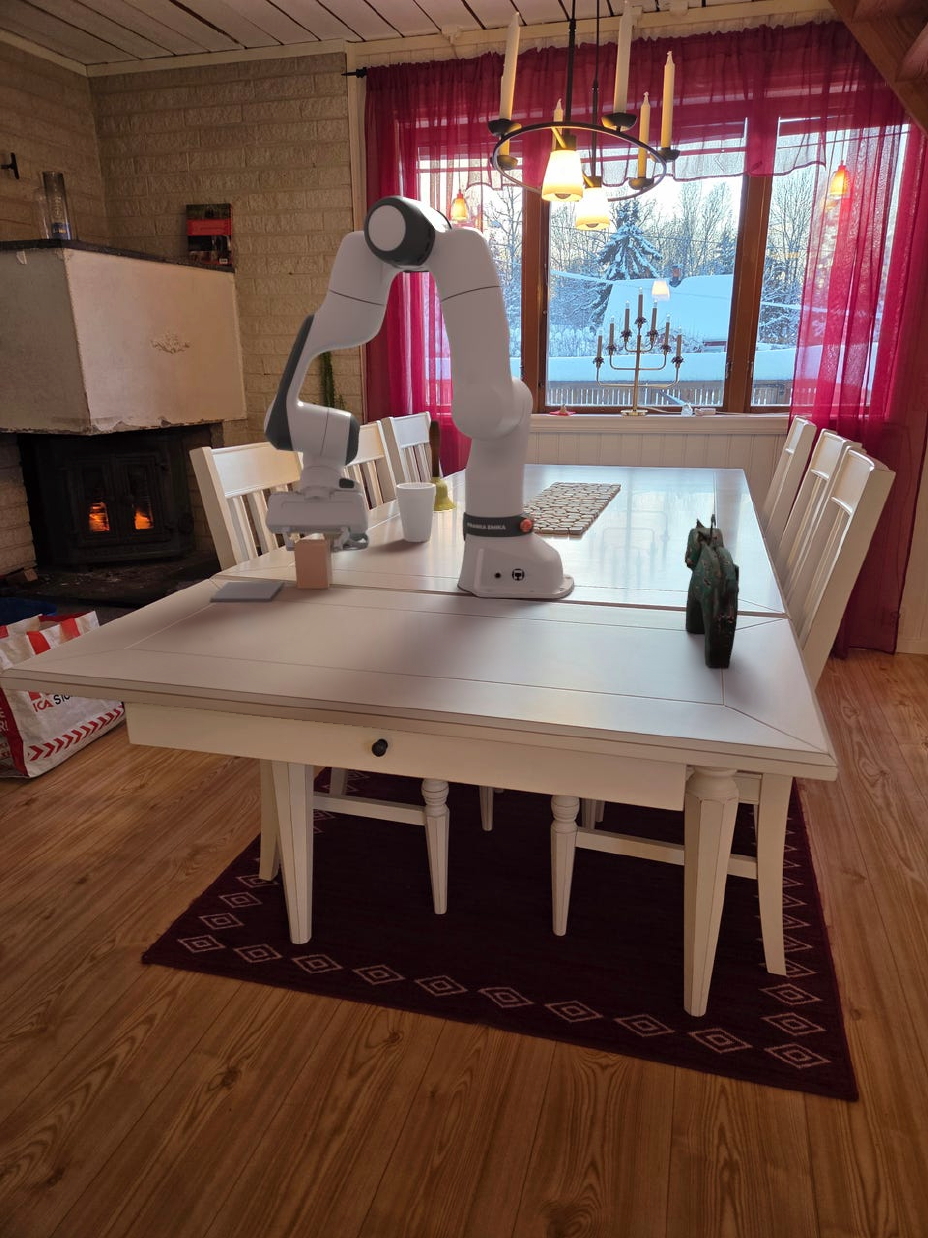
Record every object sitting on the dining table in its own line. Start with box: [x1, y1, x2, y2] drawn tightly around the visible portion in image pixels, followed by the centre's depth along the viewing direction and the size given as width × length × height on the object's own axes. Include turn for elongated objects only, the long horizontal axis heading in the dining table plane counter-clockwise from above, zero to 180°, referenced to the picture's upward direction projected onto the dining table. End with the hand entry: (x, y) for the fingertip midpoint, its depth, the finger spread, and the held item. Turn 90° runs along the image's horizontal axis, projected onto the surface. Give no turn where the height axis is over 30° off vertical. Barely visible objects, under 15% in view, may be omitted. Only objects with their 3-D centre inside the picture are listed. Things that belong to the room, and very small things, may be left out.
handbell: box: [427, 419, 457, 511], centre depth 227 cm, size 12×12×25 cm
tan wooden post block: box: [293, 538, 334, 590], centre depth 154 cm, size 6×5×9 cm
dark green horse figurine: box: [684, 513, 740, 669], centre depth 118 cm, size 20×6×20 cm, turn 174°
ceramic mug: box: [322, 532, 370, 549], centre depth 187 cm, size 11×8×8 cm
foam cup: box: [395, 482, 436, 543], centre depth 191 cm, size 10×9×13 cm
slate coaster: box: [209, 581, 285, 603], centre depth 151 cm, size 11×11×1 cm
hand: (314, 549), depth 155 cm, fingers open, 8 cm apart
